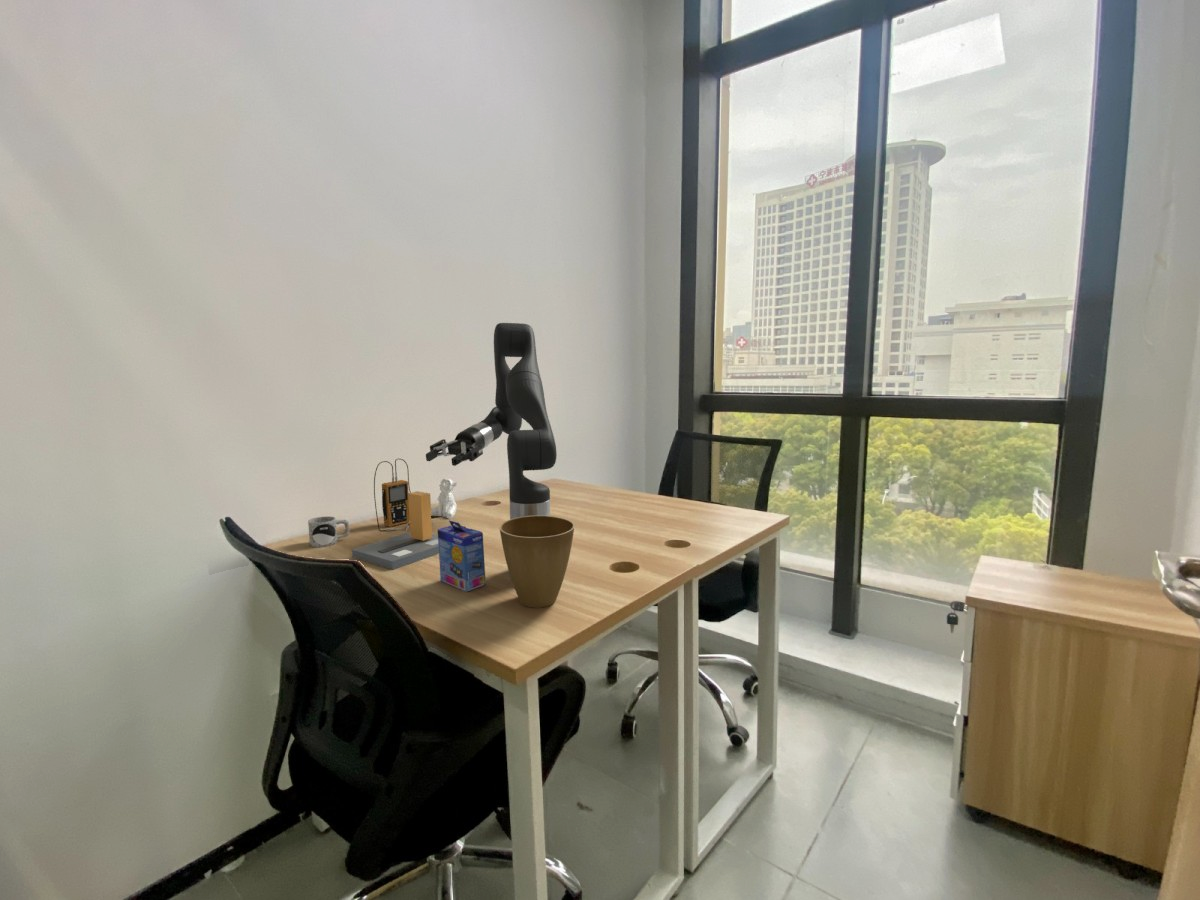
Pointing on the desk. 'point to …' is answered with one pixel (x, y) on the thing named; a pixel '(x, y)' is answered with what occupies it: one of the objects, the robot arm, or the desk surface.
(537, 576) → the plant pot
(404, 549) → the switch panel
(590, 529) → the desk surface
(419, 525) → the switch tab
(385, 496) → the multimeter
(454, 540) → the ink cartridge box
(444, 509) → the white creature statuette
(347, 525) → the mug
